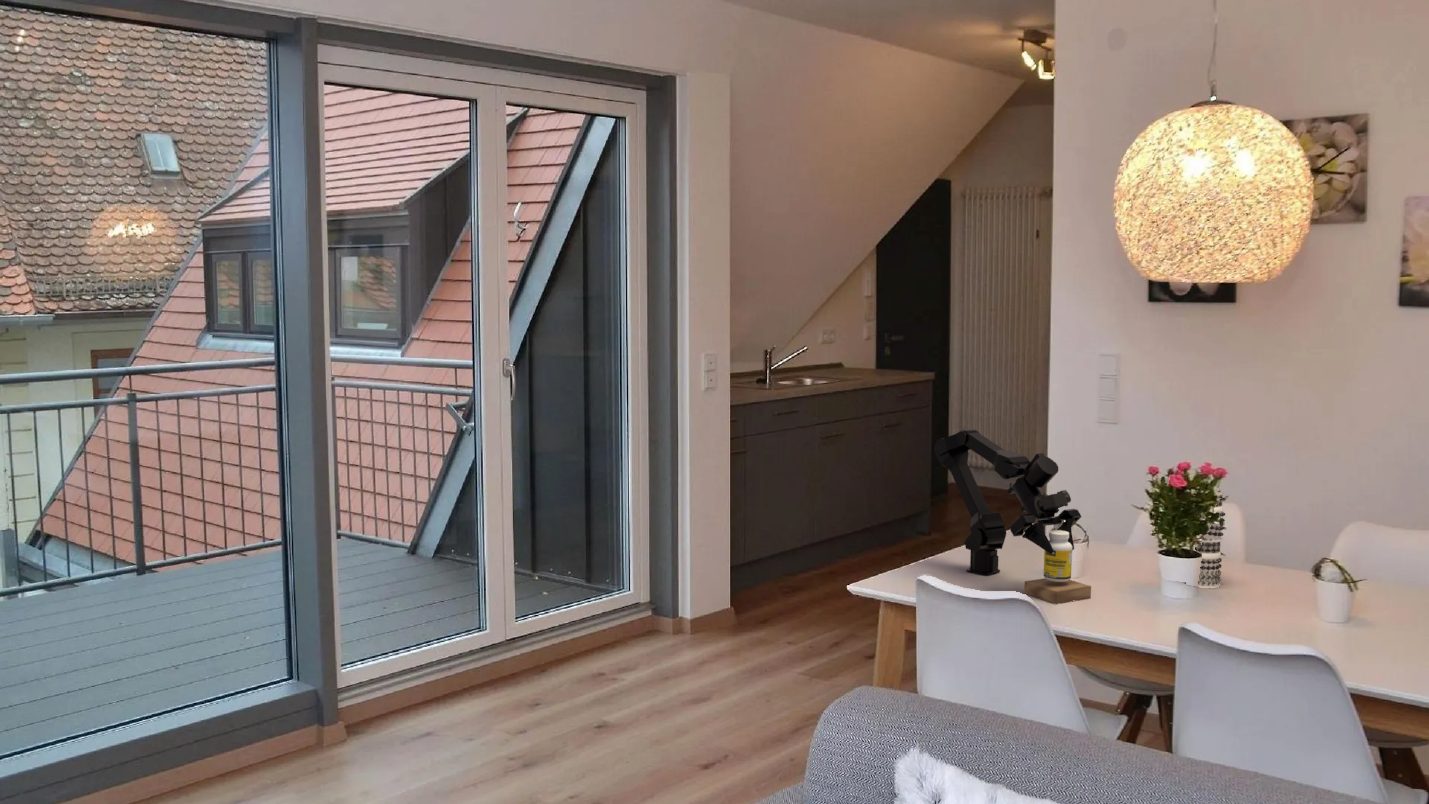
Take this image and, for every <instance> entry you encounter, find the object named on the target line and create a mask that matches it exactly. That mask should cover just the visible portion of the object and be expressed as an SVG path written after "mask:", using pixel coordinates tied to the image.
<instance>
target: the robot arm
mask: <svg viewBox="0 0 1429 804" xmlns="http://www.w3.org/2000/svg"><path fill="white" fill-rule="evenodd" d="M970 450H971V451H972V452H974V453H975V454H977V455H978V456H979V457H981V458H983V459H985V460H986V462H989V463H991V465H992V466H993V471H994V472H996V474H998V475H999V477H1001V478H1002V479H1004V480H1013V479H1016V480H1015V481H1014V482H1010V483H1009V487H1008V489H1007V494H1008V495H1012V494H1013V495H1014V494H1015V496H1016V497H1017V499H1018V500H1019V502H1020V504H1021V505H1022V507H1021V508H1020V511H1021V513H1026V514H1020V515H1019V516H1018V517H1017V518H1015V520H1013V522H1012V523H1011V524H1010V532H1011V534H1012V536H1013V537H1014V538H1015V537H1021V536H1022V538H1023V539H1026V540H1028V541H1029V542H1032V543H1033V544H1035V545H1036V546H1038V547H1039V548H1041V549H1042V550H1043V551H1044V552H1045V551H1047V552H1048V553H1049V554H1052V553H1053V549H1052V546H1051V544H1050V542H1049V540H1050V539H1048V536H1047V535H1046V533H1045V530H1044V527H1047V526H1054V527H1055V529H1056V530H1061V531H1067V532H1069V539H1068V542H1069V543H1070V544H1071V545H1072V552H1073V551H1074V550H1075V544H1074V538H1073V535H1072V533H1073V532H1072V531H1073V530H1072V528H1073V526H1074V525H1076V524H1077V522H1078V521H1079V520H1080V519H1081V518H1082V515H1081V513H1080V512H1079V510H1078V509H1077V508H1076V509H1075V508H1068V509H1063V510H1062V511H1061V512H1060V513H1059V514H1058V512H1059V511H1060V508H1062V507H1068V506H1069V503H1071V501H1072V497H1071V495H1070V493H1069V492H1068V491H1067V490H1066V489H1064V490H1060V491H1057V493H1053V494H1052V493H1050V494H1044V493H1043V491H1041V489H1042V488H1044V487H1046V485H1048V484H1049V483H1050V482H1051V480H1052V479H1053V478H1054V477H1055V476H1056V475H1057V474H1058V472H1059V465H1058V464H1057V462H1055V461H1054V460H1053V459H1052V458H1050V457H1048V456H1046V455H1045V453H1043V452H1038V453H1036V454H1035V455H1034V457H1033V458H1032V460H1029V459H1028V457H1027V456H1026V455H1024V454H1021V453H1019V452H1015V451H1010V450H1009V451H1008V450H1006V449H1004V448H1002V447H1001V446H999V445H998V444H996V443H995V442H993V441H991V440H990V439H989V438H987V437H985V436H984V435H983V434H981V433H980V432H979V431H978V430H976V429H974V428H972V429H963V430H959V431H957V433H955V434H952V435H948V436H946V437H944V438H943V437H942V438H938V439H937V440H936V441H935V443H934V446H933V452H934V455H935V456H936V458H937V460H938V461H939V463H940V465H942V466H943V467H944V468H946V469H947V470H948V471H949V472H950V474H951V476H952V478H953V480H954V482H955V484H956V487H957V488H958V491H959V494H960V495H961V498H962V500H963V503H964V505H965V506H966V508H967V511H968V514H969V515H970V519H971V520H970V525H969V530H970V534H969V535H968V536H967V537H966V538H965V540H964V545H965V549H966V550H969V551H970V555H969V556H970V557H969V559H970V560H969V561H970V563H969V564H970V565H969V568H967V569H966V572H967V573H968V572H969V573H973V574H976V575H977V574H978V575H981V576H990V575H993V574H996V573H997V574H998V573H999V572H1000V573H1001V569H999V555H998V550H1002V549H1003V546H1004V544H1005V540H1006V537H1007V529H1006V526H1007V525H1006V523H1005V522H1004V521H1003V518H1002V515H1001V514H1000V512H999V511H998V512H992V511H991V510H990V509H989V507H988V505H987V503H986V500H985V498H984V496H983V494H982V492H981V489H980V488H979V486H978V484H977V482H976V479H975V477H974V475H973V473H972V470H971V468H970V466H969V463H968V462H969V455H970V453H969V451H970ZM1056 514H1058V515H1056ZM1055 515H1056V516H1055Z"/></svg>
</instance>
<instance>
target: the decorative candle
mask: <svg viewBox="0 0 1429 804" xmlns="http://www.w3.org/2000/svg"><path fill="white" fill-rule="evenodd" d="M1216 487H1217V489H1216V494H1217V497H1218V498H1222V500H1220V501H1219V502H1218V503H1217V505H1216V507H1215V508H1214V511H1216V512H1217V513H1220V519H1221V523H1224V522H1225V521H1226V520H1225V518H1224V517H1225V516H1226V513H1225V512H1224V511H1223V510H1224V505H1223V497H1224V495H1225V494H1224V492H1223V491H1221V489H1220V488H1219V487H1218V486H1216ZM1224 530H1225V527H1224V526H1223V525H1222V526H1220V525H1219V524H1211V527H1210V529H1209V532H1208V535H1207V536H1205V537H1204V539H1202V545H1198V546H1197V547H1195V550H1196V551H1198V552H1200V553H1202V561H1201V567H1200V574H1199V581H1198V586H1199V588H1198V589H1209V588H1210V589H1217V587H1218V588H1220V587H1221V586H1220V585H1221V583H1220V582H1221V580H1222V577H1221V576H1222V571H1221V570H1220V569H1221V568H1222V564H1221V562H1222V561H1223V560H1222V558H1221V557H1222V551H1221V542H1222V541H1223V540H1224V539H1223V536H1224V533H1223V532H1222V531H1224ZM1219 586H1220V587H1219Z"/></svg>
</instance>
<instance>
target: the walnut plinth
mask: <svg viewBox="0 0 1429 804" xmlns="http://www.w3.org/2000/svg"><path fill="white" fill-rule="evenodd" d="M1023 586H1024V588H1023V589H1024V594H1025V595H1028V596H1031V597H1034V598H1037V599H1039V600H1043V601H1046V602H1049V603H1051V604H1052V603H1053V604H1055V603H1056V604H1055V605H1059V604H1058V603H1060V604H1067V603H1071V602H1070V601H1072V602H1074V601H1073V600H1078V601H1082V600H1083V601H1085V600H1088V599H1089V598H1090V599H1091V597H1092V585H1089V584H1085V583H1082V582H1079V581H1075V580H1071V579H1070V580H1069V581H1065V582H1055V581H1050V580H1047V579H1045V578H1044V577H1043V578H1039V579H1038V578H1037V579H1032V580H1026V581H1024V585H1023Z"/></svg>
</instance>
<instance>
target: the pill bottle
mask: <svg viewBox="0 0 1429 804" xmlns="http://www.w3.org/2000/svg"><path fill="white" fill-rule="evenodd" d="M1048 538H1049V539H1048V540H1049V542H1050V544H1051V546H1052V549H1053V553H1052V554H1049V553H1048V552H1047V551H1045V550H1044V554H1043V556H1044V557H1043V579H1044V578H1045V579H1047V580H1050V581H1055V582H1065V581H1069V580H1071V578H1072V563H1073V551H1072V545H1071V544H1070V543H1069V542H1068V539H1069V532H1067V531H1061V530H1057V529H1056V530H1055V529H1054V530H1050V531H1048Z"/></svg>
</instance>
